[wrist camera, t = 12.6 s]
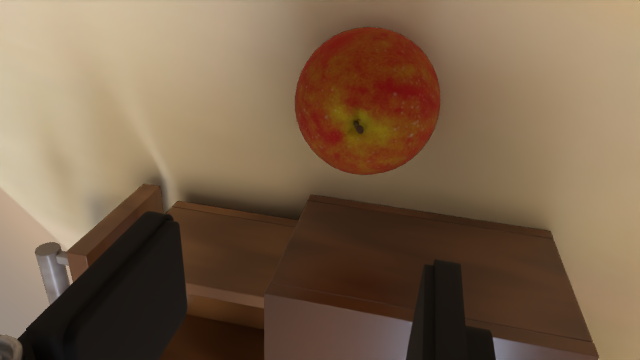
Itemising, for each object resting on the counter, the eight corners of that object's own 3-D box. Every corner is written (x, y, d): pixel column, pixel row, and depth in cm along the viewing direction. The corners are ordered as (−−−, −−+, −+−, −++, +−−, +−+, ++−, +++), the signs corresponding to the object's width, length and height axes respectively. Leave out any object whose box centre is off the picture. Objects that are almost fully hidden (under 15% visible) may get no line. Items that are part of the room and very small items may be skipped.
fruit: (361, 161, 29) (338, 235, 22) (288, 68, 27) (238, 116, 20) (465, 96, 26) (476, 158, 19) (389, -13, 24) (371, 10, 17)
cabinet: (302, 336, 37) (264, 457, 28) (310, 194, 31) (263, 293, 22) (501, 377, 34) (522, 520, 26) (551, 230, 28) (599, 356, 20)
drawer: (106, 300, 38) (35, 381, 31) (79, 173, 33) (-13, 237, 26) (331, 346, 35) (307, 446, 28) (343, 215, 30) (317, 299, 23)
